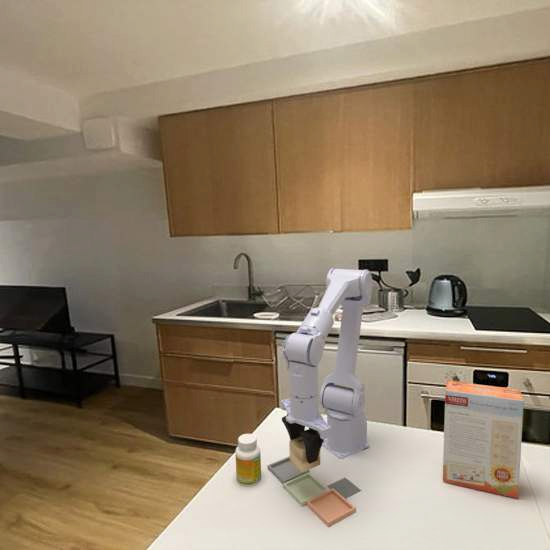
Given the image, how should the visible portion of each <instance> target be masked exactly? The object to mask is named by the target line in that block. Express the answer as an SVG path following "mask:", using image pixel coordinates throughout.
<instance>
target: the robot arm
mask: <svg viewBox="0 0 550 550" xmlns="http://www.w3.org/2000/svg"><path fill="white" fill-rule="evenodd" d="M326 275H327V276H326V279H325V281H326V282H325V283H326V284H325V287H326V289H325V292H324V294H323V296H322V298H321V301H320V302H319V305H318V306H317V307H313V308H311V309H310V310H309V312H308V313H307V315H306V317H305V318H304V320H303V321H302V323H301V324H300V326H299V328H298V329H297V331H296V332H293V333H291V334H289V335H287V336H286V338H285V340H284V342H283V343H284V344H283V347H282V348H283V349H282V351H281V352H282V356H283V359H284V361H285V367H286V370H288V375H289V376H288V377H289V378H288V382H289V398H286V399H282V400H280V409H281V410H282V411H286V415H284V416H283V417H281V422H282V423H283V425H284V426H285V429H286V431H287V433H288V436H289V441H291V440H293V439H296V438H298V437H301V436H302V438H303V441H304V444H305V449H306V458H307V461H308V463H309V464H311V463H313V462H315V461H317V460H318V456H319V452H320V453H321V449H322V447H323V448H325V449H326V450H327V451H329V452H330V453H332V454H333V455H334V456H335V457H337V458H338V459H339V460H342V459H344V458H347V457H349V456H351V455H353V454H356V453H359V452H360V451H363V450H364V449H367V448H370V444H369V443H368V438H367V437H368V422H367V417H366V414H365V413H364V407H365V404H366V397H365V384H364V382H363V381H362V380H361V379H360V378H359V377H358V376H357V375H356V367H357V366H356V365H357V358H358V350H359V341H360V334H361V328H362V327H361V326H362V318H363V313H364V308H365V307H367V306H370V305H371V304H370V303H371V300H372V293H373V283H374V282H373V277H372V273H371V271H370V270H369V269H349V268H348V269H347V268H336V267H332V268H331V269H329V271H328V272H327V273H326ZM340 306H341V308H342V313H341V319H340V326H339V327H340V328H339V334H338V335H339V336H338V341H337V342H338V343H337V350H336V359H335V365H334V371H333V372H332V373H330V374H328V375H326V376H325V377H324V379H323V382H322V386H321V388H320V392H319V363H320V362H321V361H322V358H323V356H324V355H323V354H324V350H325V347H326V342H325V340H326V339H327V337H328V335H329V333H330V332H331V330H332V329H333V326H334V324H335V320H334V317H333V316H334V314H335V313H336V312H337V310H338V309H339V308H340ZM319 404H320V406H321V408H322V409H324V413H325V414H326V415H327V416H326V420H325V419H324V417H323V415H322V414H321V413H320V411H319ZM306 428H308V429H306Z"/></svg>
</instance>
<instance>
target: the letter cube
mask: <svg viewBox="0 0 550 550" xmlns="http://www.w3.org/2000/svg"><path fill="white" fill-rule="evenodd" d="M289 456H290V462H292V463H293V464H294V465H295V466H296V467H297V468H298V469H299V470H300V471H301V472H305V471H307V470H311V469H313V468H314V469H315V468H317V467H318V466H320V465H321V451H320V452H319V456H318V460H317V461H315V462H313V463H311V464H309V463H308V461H307V458H306V449H305V444H304V441H303V438H302V436H301V437H298V438H296V439H293V440H289Z"/></svg>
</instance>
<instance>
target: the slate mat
mask: <svg viewBox="0 0 550 550" xmlns="http://www.w3.org/2000/svg"><path fill="white" fill-rule="evenodd" d="M326 488H328V489H329V490H330V489H332V488H333V489H334V490H336V491H337V492H338V493H339V494H340V495H341V496H343V497H344V498H345V499H346V500H347V499H348V498H351V497H352V496H354V495H356V494H357V493H360V492H361V491H362V490H361V489H360V488H359V487H358V486H357V485H355V484H354V483H353V482H351V480H349V479H348V478H346V477H343V478H341V479H339V480H336V481H335V482H333V483H331V484H328V485H327V487H326Z"/></svg>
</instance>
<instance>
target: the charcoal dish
mask: <svg viewBox="0 0 550 550" xmlns="http://www.w3.org/2000/svg"><path fill="white" fill-rule="evenodd" d="M266 467H267V470H268V471H269V472H270V473H271V474H272V475H273V476H274V477H275V478H276V479H277V480H278V481H279V483H281V484H282V485H283V483H286V482H288V481H290V480H292V479H295V478H297V477H299V476H301V475H304V474H306V473H308V472H309V473H310V474H311V471H310V470H311V469H309V470H307V471H305V472H301V471H300V470H299V469H298V468H297V467H296V466H295V465H294V464H293V463H292V462H290V455H289V456H287V457H284V458H282V459H280V460H279V459H278V460H277V461H274V462H272V463H270V464H268V465H267V466H266Z"/></svg>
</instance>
